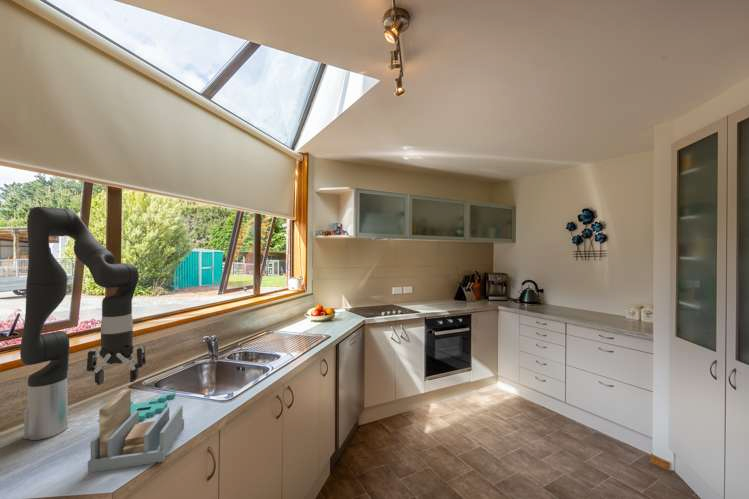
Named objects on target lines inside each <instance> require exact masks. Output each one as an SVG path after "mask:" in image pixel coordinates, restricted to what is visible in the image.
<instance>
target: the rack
mask: <svg viewBox="0 0 749 499" xmlns="http://www.w3.org/2000/svg"><path fill="white" fill-rule="evenodd" d="M183 408H184V407H183V405H179V406H178V407H177V408H176V410H175V411H174V412H173V414H172V415H171V417H170V406H167V407H166V408H165V409H164V411H163V412H162V413H159V416H158V417H157V418H156V419H155V420H154V421H155V422H154V423H153V424H152V425H151V427H150V428H149V429H148V430H147V432H146V433H145V434H144V452H141V453H134V454H127V455H123V448H124V447H125V439H126V437H127V436H128V434H129V433H130V431H131V430H132V428H133V427H134V425H135V424H140V421H139V411H135V412H134V413H133V414H132V415H131V416H130V417H129V418H128V419H127V420H126V421H125V422H124V423H123V424H122V425H121V426H120V427H119V428H118V429H117V430H116V431H115V432H114V433H113V434H112V435H111V436H110V437H109V438H108V457H106V458H100V432H99V433H98V434H97V435H95V437H94V438H93V439H92V440H91V441H90V459H89V460H88V461H87V473H88V474H90V473H96V472H97V473H98V472H102V471H103V472H104V471H110V470H117V469H124V468H131V467H136V465H138V466H142V464H145V465H150V463H151V464H155V463H154V462H158V463H163V462H164V461H165V458H166V457H167V455H168V454H167V452H168V451H169V452H170V450H171V449H170V447H171V446H172V447H173V445H174V444H175V442H176V441H175V440H177V439H176V438H178V437H179V436H180V434H181V433H182V431H183V430H184V428H185V418H184V416H183V413H184V412H183V410H184V409H183ZM178 435H179V436H178ZM177 436H178V437H177ZM174 441H175V442H174ZM173 443H174V444H173ZM172 444H173V445H172ZM172 447H171V448H172ZM158 448H159V449H158ZM169 449H170V450H169ZM169 452H168V453H169ZM166 454H167V455H166ZM165 456H166V457H165ZM130 466H131V467H130Z"/></svg>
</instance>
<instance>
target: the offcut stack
mask: <svg viewBox="0 0 749 499" xmlns="http://www.w3.org/2000/svg"><path fill="white" fill-rule="evenodd" d="M154 422H155V420H152V421H146V422H139V424H135V425H134V427H133V428H132V430H131V431H130V433H129V434H128V436H127V437H126V439H125V447H124V448H123V454H122V455H127V454H134V453H141V452H144V434H145V433H146V432H147V430H148V429H149V428H150V427H151V425H152V424H153V423H154Z"/></svg>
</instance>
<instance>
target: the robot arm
mask: <svg viewBox="0 0 749 499" xmlns="http://www.w3.org/2000/svg"><path fill="white" fill-rule="evenodd" d="M26 227H27V228H26V231H27V244H28V246H27V248H28V260H27V261H28V264H27V274H26V285H25V286H26V287H25V316H24V323H23V329H22V334H21V340H20V350H19V355H20V360H21V362H22V363H23V364H24V365H26V366H32V365H37V364H38V365H39V364H42V363H46V362H49V363H47V364H46V365H44V366H43V367H42V368H40V369H39V370H36V371H35V372H33V373H32V374H30V375H29V376H28V378H27V408H25V409H24V411H23V439H24V440H31V441H39V440H44V439H48V438H52V437H54V436H57V435H59V434H61V433H63V432H64V431H66V430H67V428H68V423H69V420H68V418H69V417H68V413H69V412H68V411H69V410H68V408H69V407H68V404H69V403H68V400H69V399H68V398H69V397H68V371H69V362H70V361H69V358H70V345H71V344H70V338H69V335H68V333H66V331H63V330H60V331H59V330H58V331H52V332H46V333H42V329H43V327H44V325H45V322H46V321H47V319H48V318H49V317H50V316H51V314H52V313H53V312H55V310H56V309H57V308H58V307H59V306H60V304H62V302H63V301H64V299H65V297H66V295H67V289H68V274H67V271H66V270H65V269H64V268H63V265H61V264H60V262H59V261H58V260H57V259H56V258H55V257H54V255H53V253H52V251H51V249H50V237H68V238H71V239H73V240H74V244H73V253H74V255H75V257H76V258H77V259H78V260H79V261H80V262H81V263H82V264H84V266H86V267H87V268H88V270H89V273H90V275H91V276H92V279H93V281H94V283H95V284H96V285H97V286H99V287H101V288H104V289H105V288H106V289H112V288H117V289H116V291H115V292H114V293H112V294H110V295H108V296H105V297H103V298H102V301H101V321H100V349H97V348H94V349H91V350H89V351H88V352H87V359H86V360H87V361H86V371H87V372H93V373H94V383H95V384H96V386H99V385H100V386H101V385H102V384H103V383H104V382H105V381H104V380H105V378H104V377H105V370H104V368H106V366H107V365H113V364H122V363H123V364H124V365H125V366H127V367H128V368H129V369H130V370H129V371H130V372H129V382H130V383H134V382H135V381H136V380H137V379H138V378H139V369H141V368H142V367H143V366H145V365H146V364H147V361H146V347H145V346H144V345H141V346H138V347H134V345H133V343H134V340H133V339H134V338H133V337H134V334H133V332H134V331H133V330H134V320H133V314H132V313H133V310H132V309H133V304H132V303H133V298H134V294H135V291H136V289H137V286H138V283H139V277H140V274H139V270H138V268H137V266H135V265H134V264H132V263H127V262H126V263H116V257H115V255H114V254H113V253H112V252H111V251H110V250H109V249H107V248H106V247H105V245H103V244H102V243H100V242H99V241H98V240H97V238H95V236H94V234H92V233H91V231H90V229H89V227H88V226H87V225H86V224H85V222H84V221H83V220H82V218H80V216H79V215H78V214H77V212H75V211H74V210H72V209H68V208H64V207H63V208H61V207H49V206H34V207H32V208H31V209H30V210H29V213H28V215H27V222H26ZM133 353H134V354H135V355H136V358H135V357H134V356H133V355H132V354H133ZM99 356H100V357H101V358H102V360H101V361H100V362H99V363H98V362H97V360H98V357H99ZM136 359H137V361H136ZM97 364H98V365H97Z"/></svg>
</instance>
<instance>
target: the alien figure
mask: <svg viewBox="0 0 749 499" xmlns="http://www.w3.org/2000/svg"><path fill="white" fill-rule="evenodd" d="M175 398H176V392H175V391H173V392H168V393H167V394H166V395H160V396H159V398H152V399H151V400H150V401H146V402H138V403H134V402H133V401H132V400H131V415H132V414H133V413H134V412H135V411H139V422H144V421H145V420H146V419H147V418H152V417H155V416H156V415H157V414H161V413H162V412H163V411H164V409H165V408H166V407H168V402H167V401H168V400H174V399H175Z"/></svg>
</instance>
